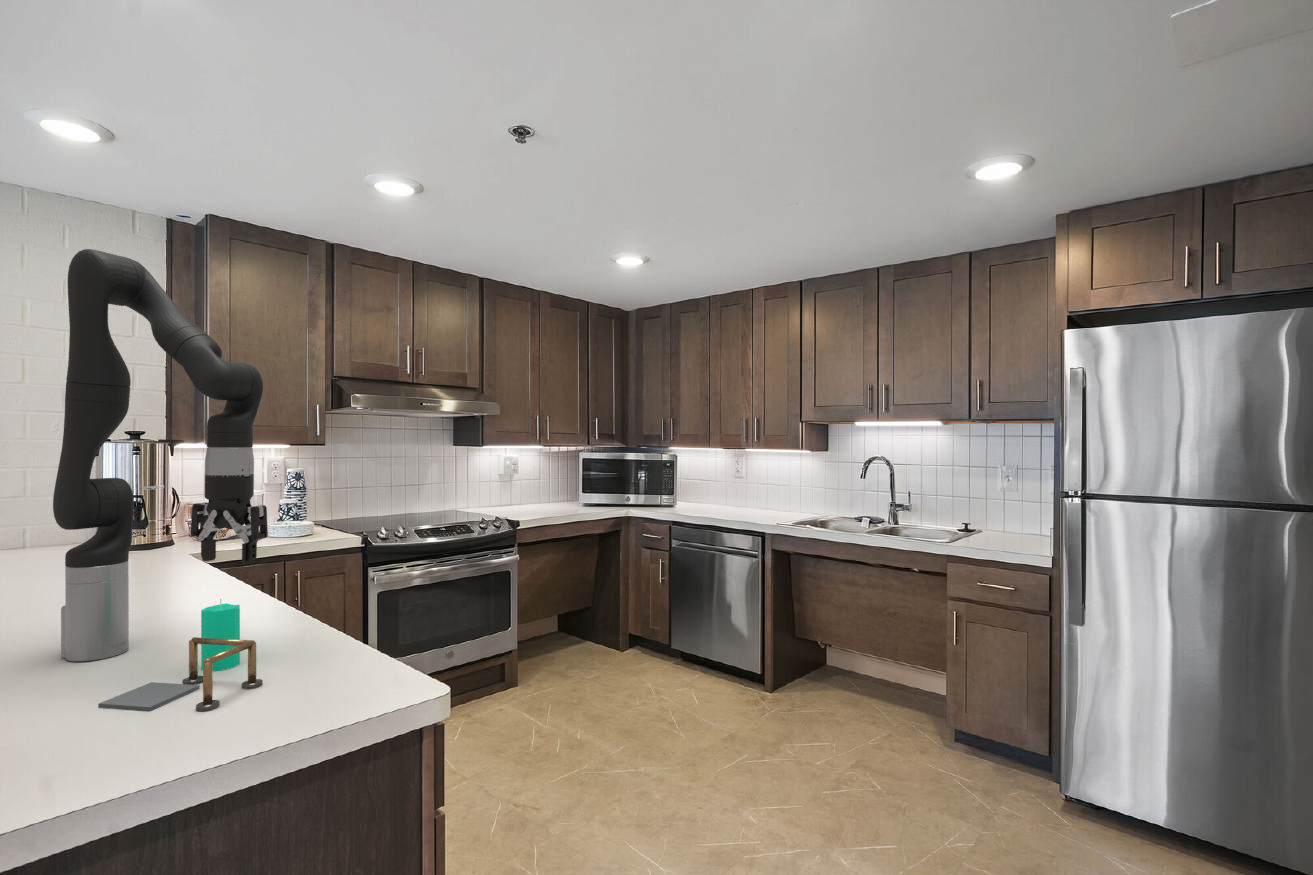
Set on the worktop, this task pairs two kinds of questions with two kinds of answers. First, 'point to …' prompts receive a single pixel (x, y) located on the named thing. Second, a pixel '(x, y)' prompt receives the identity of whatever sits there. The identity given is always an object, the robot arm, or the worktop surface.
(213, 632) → the candle
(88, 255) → the robot arm
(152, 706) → the coaster
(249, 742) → the worktop surface
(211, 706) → the handrail
